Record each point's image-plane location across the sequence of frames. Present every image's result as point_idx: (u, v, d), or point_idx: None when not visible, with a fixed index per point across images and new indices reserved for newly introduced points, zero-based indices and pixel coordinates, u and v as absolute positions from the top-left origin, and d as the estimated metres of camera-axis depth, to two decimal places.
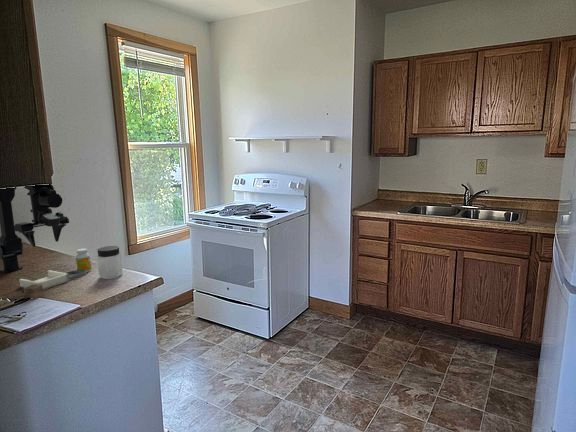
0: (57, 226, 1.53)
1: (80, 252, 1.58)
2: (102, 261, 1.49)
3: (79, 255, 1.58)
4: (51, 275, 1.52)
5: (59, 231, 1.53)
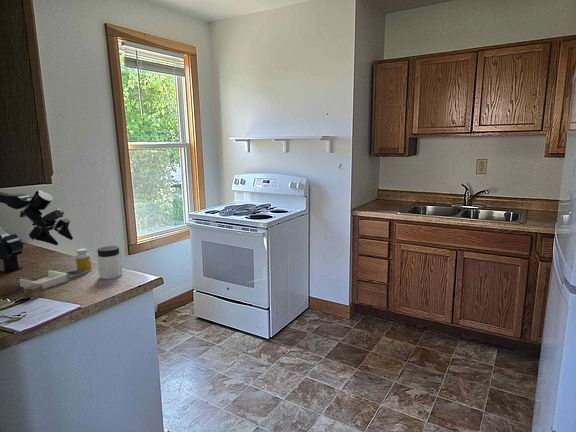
0: (63, 227, 1.64)
1: (80, 252, 1.58)
2: (102, 261, 1.49)
3: (79, 255, 1.58)
4: (51, 275, 1.52)
5: (68, 230, 1.64)
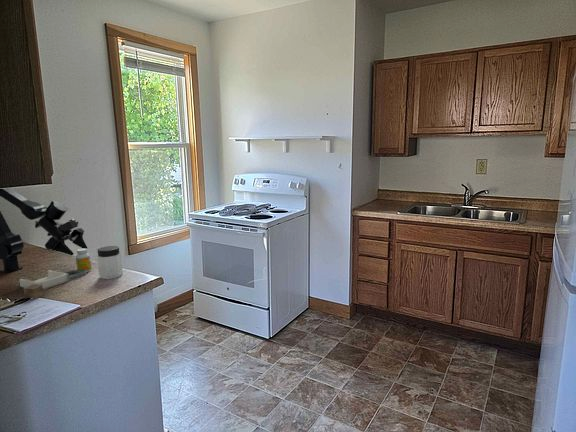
0: (77, 237, 1.64)
1: (80, 252, 1.58)
2: (102, 261, 1.49)
3: (79, 255, 1.58)
4: (51, 275, 1.52)
5: (82, 239, 1.65)
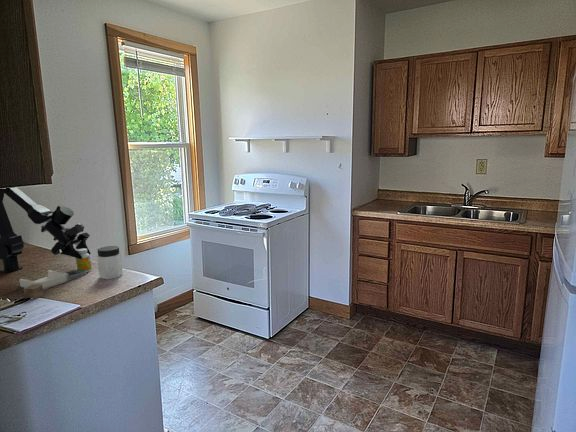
0: (81, 242, 1.63)
1: (80, 252, 1.58)
2: (102, 261, 1.49)
3: None
4: (51, 275, 1.52)
5: (85, 245, 1.63)
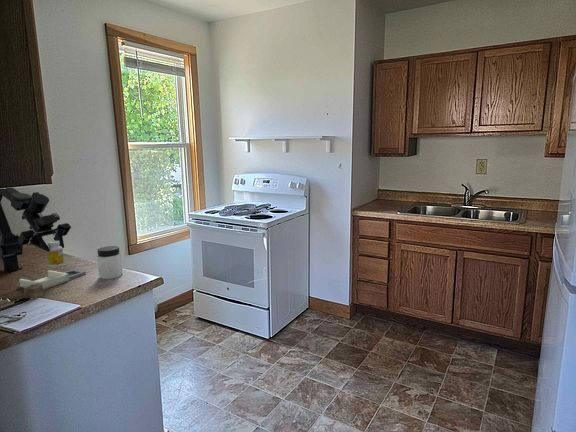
0: (57, 233, 1.51)
1: (49, 244, 1.46)
2: (102, 261, 1.49)
3: (49, 247, 1.46)
4: (51, 275, 1.52)
5: (61, 237, 1.51)
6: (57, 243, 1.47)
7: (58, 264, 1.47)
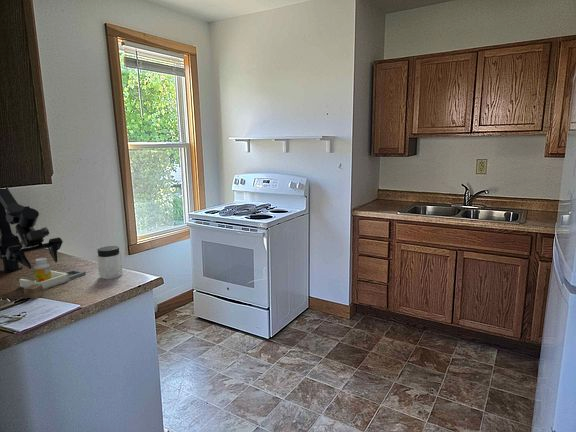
0: (51, 247, 1.49)
1: (36, 262, 1.43)
2: (102, 261, 1.49)
3: (35, 265, 1.43)
4: None
5: (55, 251, 1.49)
6: (44, 261, 1.44)
7: None
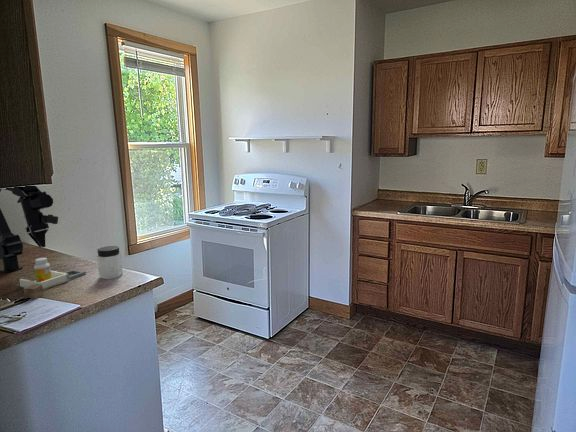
0: None
1: (36, 262, 1.43)
2: (102, 261, 1.49)
3: (35, 265, 1.43)
4: None
5: None
6: (44, 261, 1.44)
7: None
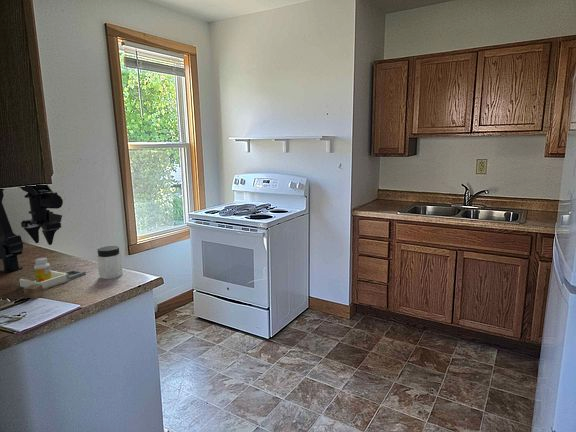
0: (36, 227, 1.59)
1: (36, 262, 1.43)
2: (102, 261, 1.49)
3: (35, 265, 1.43)
4: None
5: None
6: (44, 261, 1.44)
7: None
